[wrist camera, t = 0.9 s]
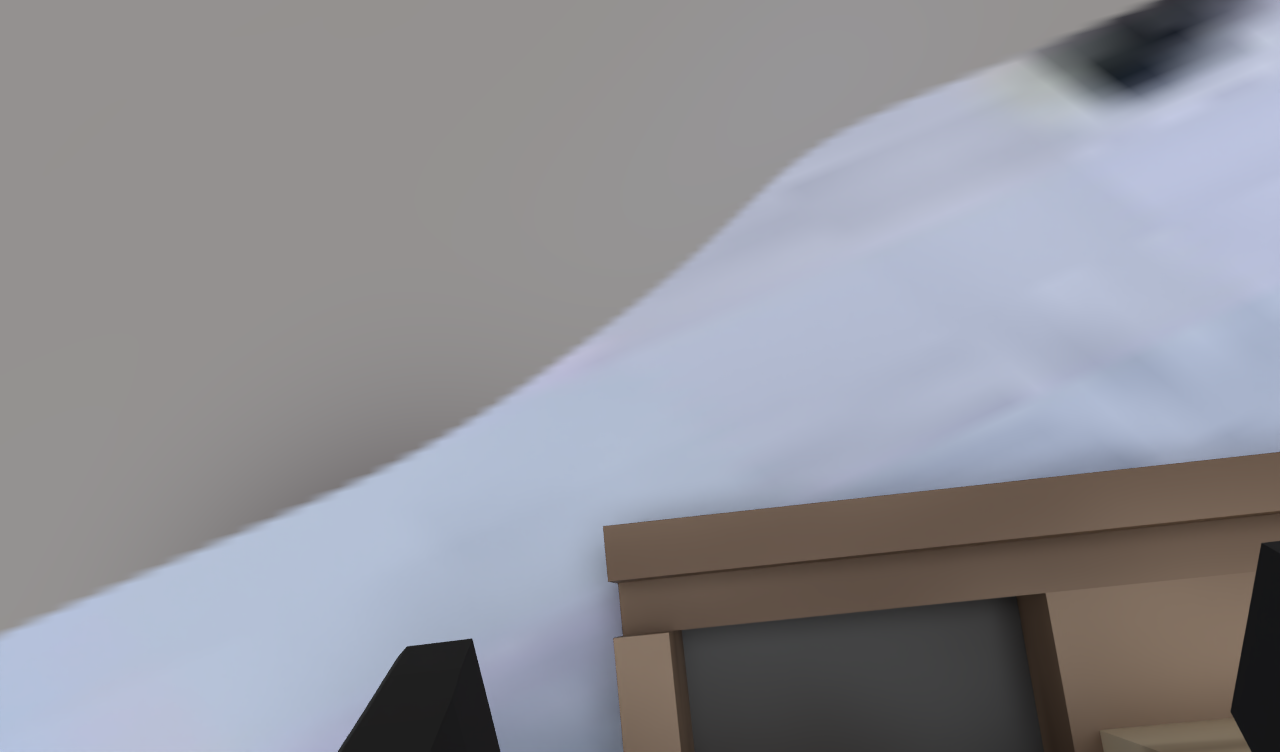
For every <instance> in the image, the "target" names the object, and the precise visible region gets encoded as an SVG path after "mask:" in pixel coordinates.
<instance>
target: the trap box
mask: <svg viewBox="0 0 1280 752" xmlns="http://www.w3.org/2000/svg"><path fill="white" fill-rule="evenodd" d="M603 531H604V542H605V553H606V564H607V575H608V582H613V583H618V587H619V598H620V609H621V619H622V630H623V636H620V637H617V638H613V640H614V651H615V662H616V673H617V684H618V695H619V706H620V717H621V728H622V739H623V750H624V752H1104V750H1103V745H1102V740H1101V735H1100V730H1108V729H1119V728H1130V727H1141V726H1152V725H1163V724H1174V723H1185V722H1196V721H1207V720H1218V719H1229V718H1233V716H1232V714H1231V712H1230V711H1231V705H1232V700H1233V694H1234V689H1235V684H1236V678H1237V673H1238V667H1239V662H1240V656H1241V651H1242V645H1243V640H1244V635H1245V629H1246V624H1247V618H1248V613H1249V607H1250V602H1251V596H1252V591H1253V585H1254V580H1255V575H1256V569H1257V564H1258V558H1259V553H1260V547H1261V543H1265V542H1274V541H1280V452H1276V453H1267V454H1258V455H1248V456H1239V457H1230V458H1221V459H1212V460H1203V461H1194V462H1185V463H1176V464H1166V465H1157V466H1148V467H1139V468H1130V469H1121V470H1112V471H1103V472H1094V473H1084V474H1075V475H1066V476H1057V477H1048V478H1039V479H1030V480H1021V481H1011V482H1002V483H993V484H984V485H975V486H966V487H957V488H948V489H939V490H929V491H920V492H911V493H902V494H893V495H884V496H875V497H866V498H857V499H847V500H838V501H829V502H820V503H811V504H802V505H793V506H784V507H775V508H765V509H756V510H747V511H738V512H729V513H720V514H711V515H702V516H693V517H683V518H674V519H665V520H656V521H647V522H638V523H629V524H620V525H611V526H603Z"/></svg>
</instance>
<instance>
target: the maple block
mask: <svg viewBox="0 0 1280 752" xmlns="http://www.w3.org/2000/svg"><path fill="white" fill-rule="evenodd" d="M1100 735H1101V740H1102V745H1103V750H1104V752H1251V750H1250V748H1249V746H1248V744H1247V742H1246V741H1245V739H1244V737H1243V735H1242V733H1241V731H1240V729H1239V727H1238V725H1237V723H1236V722H1235V720H1234V718H1229V719H1218V720H1207V721H1196V722H1185V723H1174V724H1163V725H1152V726H1141V727H1130V728H1119V729H1108V730H1100Z"/></svg>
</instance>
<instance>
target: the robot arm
mask: <svg viewBox="0 0 1280 752" xmlns="http://www.w3.org/2000/svg"><path fill="white" fill-rule="evenodd" d="M1230 712H1231V714H1232V716H1233V718H1234V720H1235V722H1236V723H1237V725H1238V727H1239V729H1240V731H1241V733H1242V735H1243V737H1244V739H1245V741H1246V742H1247V744H1248V746H1249V748H1250V750H1251V752H1280V541H1274V542H1265V543H1261V547H1260V553H1259V558H1258V564H1257V569H1256V575H1255V580H1254V585H1253V591H1252V596H1251V602H1250V607H1249V613H1248V618H1247V624H1246V629H1245V635H1244V640H1243V645H1242V651H1241V656H1240V662H1239V667H1238V673H1237V678H1236V684H1235V689H1234V694H1233V700H1232V705H1231V711H1230ZM338 752H500V748H499V744H498V740H497V736H496V732H495V728H494V724H493V720H492V716H491V712H490V708H489V704H488V700H487V696H486V692H485V688H484V684H483V680H482V676H481V672H480V668H479V664H478V660H477V656H476V652H475V648H474V644H473V640H472V639H465V640H457V641H449V642H441V643H432V644H424V645H416V646H408V647H406V648H405V649H404V651H403V652H402V653H401V654H400V655H399V656H398V658H397V659H396V661H395V662H394V664H393V666H392V667H391V669H390V670H389V672H388V673H387V675H386V677H385V678H384V680H383V681H382V683H381V685H380V686H379V688H378V689H377V691H376V693H375V694H374V696H373V697H372V699H371V701H370V702H369V704H368V705H367V707H366V709H365V710H364V712H363V713H362V715H361V716H360V718H359V720H358V721H357V723H356V724H355V726H354V727H353V729H352V731H351V732H350V734H349V735H348V737H347V738H346V740H345V741H344V743H343V744H342V746H341V747H340V749H339V750H338Z"/></svg>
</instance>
